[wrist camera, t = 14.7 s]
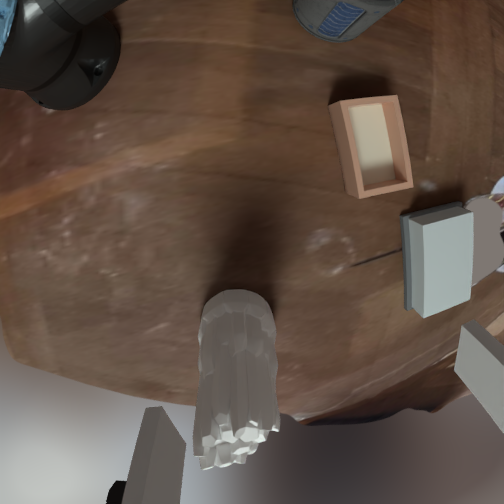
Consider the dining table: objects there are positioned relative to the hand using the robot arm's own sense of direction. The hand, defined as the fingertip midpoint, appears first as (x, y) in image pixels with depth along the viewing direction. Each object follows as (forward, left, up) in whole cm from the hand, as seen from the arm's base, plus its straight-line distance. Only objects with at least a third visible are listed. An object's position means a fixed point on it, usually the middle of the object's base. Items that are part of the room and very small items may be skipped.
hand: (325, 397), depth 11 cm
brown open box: (-7, +16, -32) cm, 36 cm away
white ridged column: (+14, -7, -32) cm, 36 cm away
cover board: (+12, +26, -31) cm, 42 cm away
